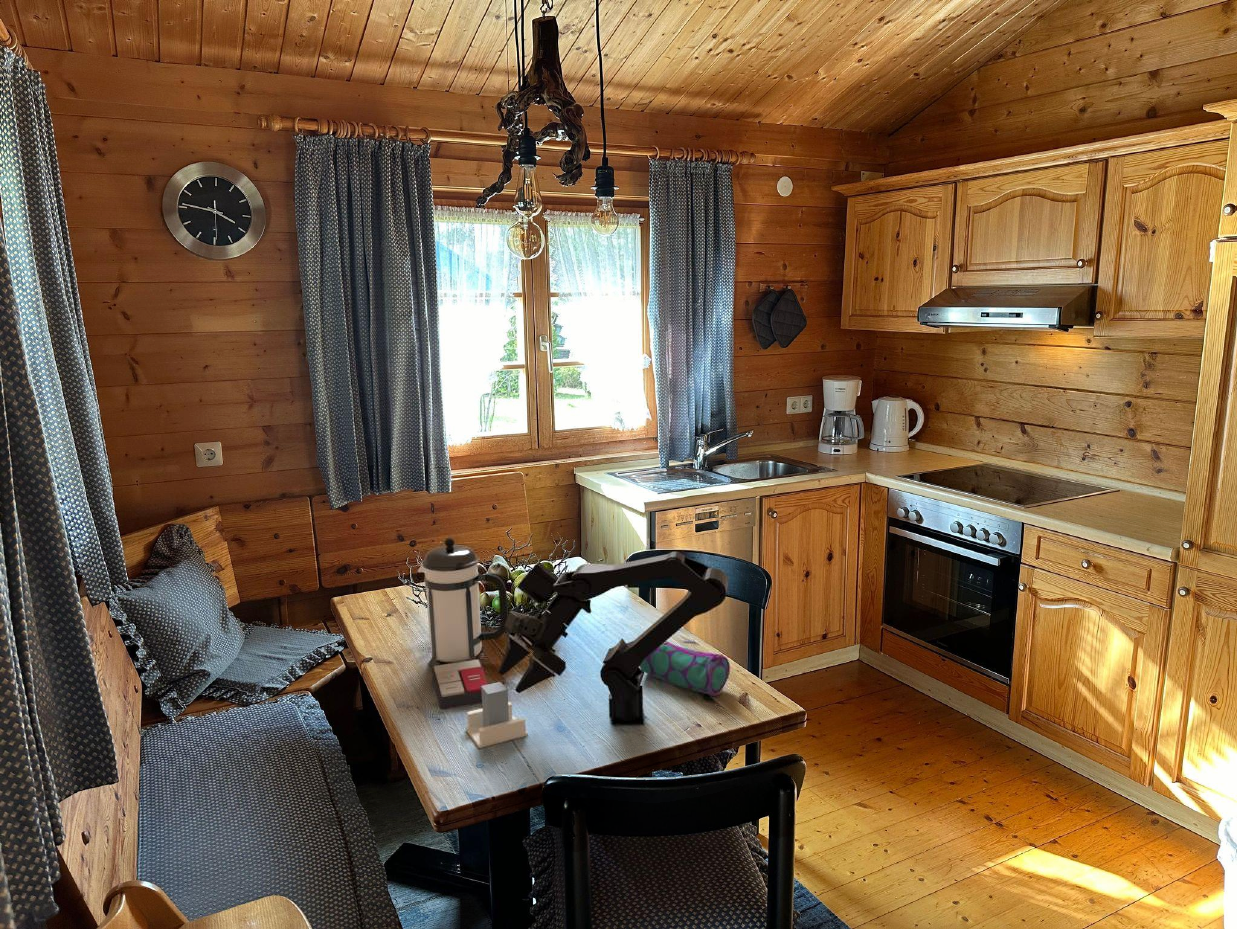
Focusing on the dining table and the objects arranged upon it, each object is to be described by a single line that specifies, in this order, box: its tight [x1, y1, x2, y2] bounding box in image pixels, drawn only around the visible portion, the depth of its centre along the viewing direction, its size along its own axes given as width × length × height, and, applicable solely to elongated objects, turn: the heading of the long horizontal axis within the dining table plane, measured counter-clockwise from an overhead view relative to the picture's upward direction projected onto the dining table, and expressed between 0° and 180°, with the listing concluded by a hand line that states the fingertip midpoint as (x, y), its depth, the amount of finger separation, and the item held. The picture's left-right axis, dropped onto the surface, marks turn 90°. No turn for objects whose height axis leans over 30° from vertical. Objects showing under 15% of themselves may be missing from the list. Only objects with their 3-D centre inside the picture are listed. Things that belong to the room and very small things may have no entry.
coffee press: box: [417, 537, 509, 669], centre depth 206 cm, size 17×16×30 cm
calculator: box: [431, 659, 490, 710], centre depth 192 cm, size 11×4×15 cm
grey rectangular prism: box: [481, 681, 509, 727], centre depth 173 cm, size 4×4×9 cm
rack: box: [465, 701, 529, 749], centre depth 173 cm, size 10×9×4 cm
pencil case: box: [639, 641, 731, 697], centre depth 193 cm, size 21×9×10 cm, turn 49°
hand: (508, 682), depth 173 cm, fingers open, 9 cm apart
